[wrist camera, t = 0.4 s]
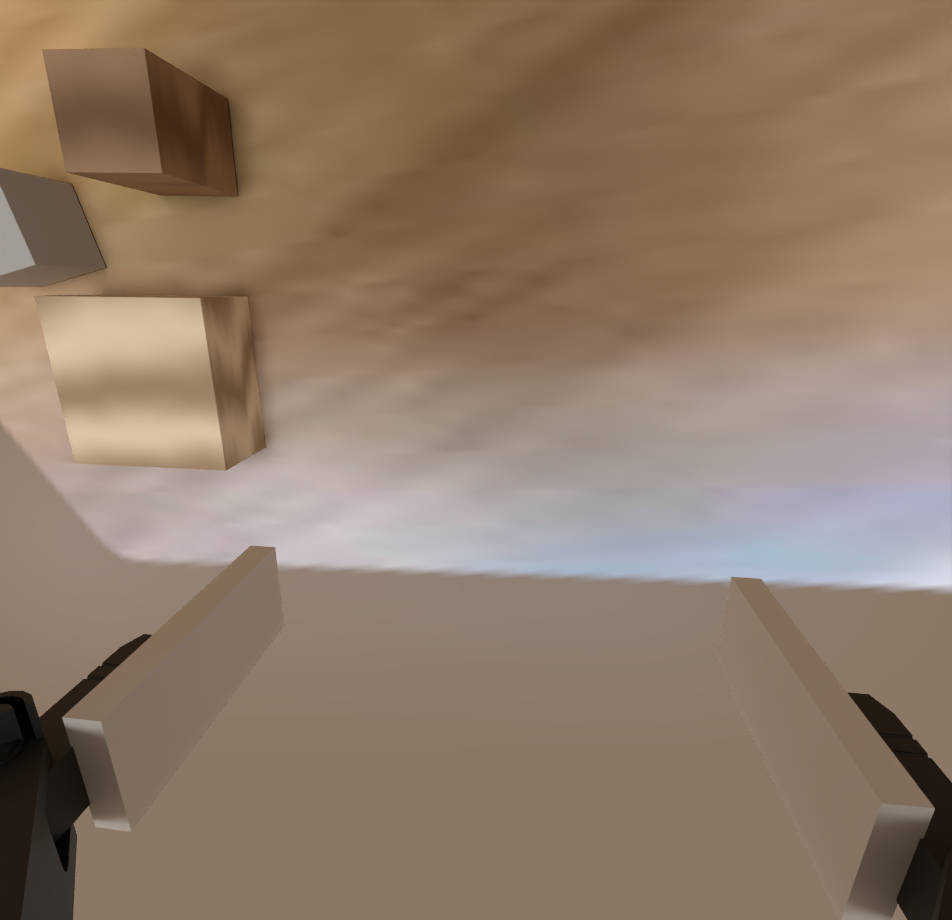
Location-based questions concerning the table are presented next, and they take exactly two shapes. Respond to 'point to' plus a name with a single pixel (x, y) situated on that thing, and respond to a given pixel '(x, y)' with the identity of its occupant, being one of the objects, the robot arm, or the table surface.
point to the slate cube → (42, 232)
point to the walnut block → (140, 122)
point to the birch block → (155, 378)
